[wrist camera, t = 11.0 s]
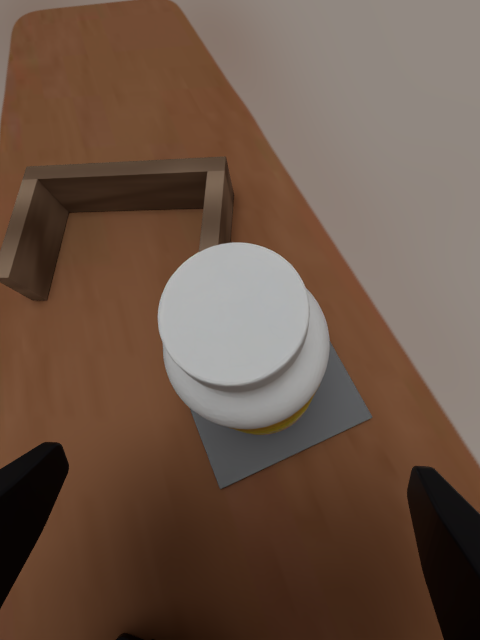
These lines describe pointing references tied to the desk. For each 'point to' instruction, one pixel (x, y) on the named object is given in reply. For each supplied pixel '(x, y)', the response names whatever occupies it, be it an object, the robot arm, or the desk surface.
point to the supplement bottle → (243, 338)
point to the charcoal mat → (311, 428)
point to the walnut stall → (106, 208)
